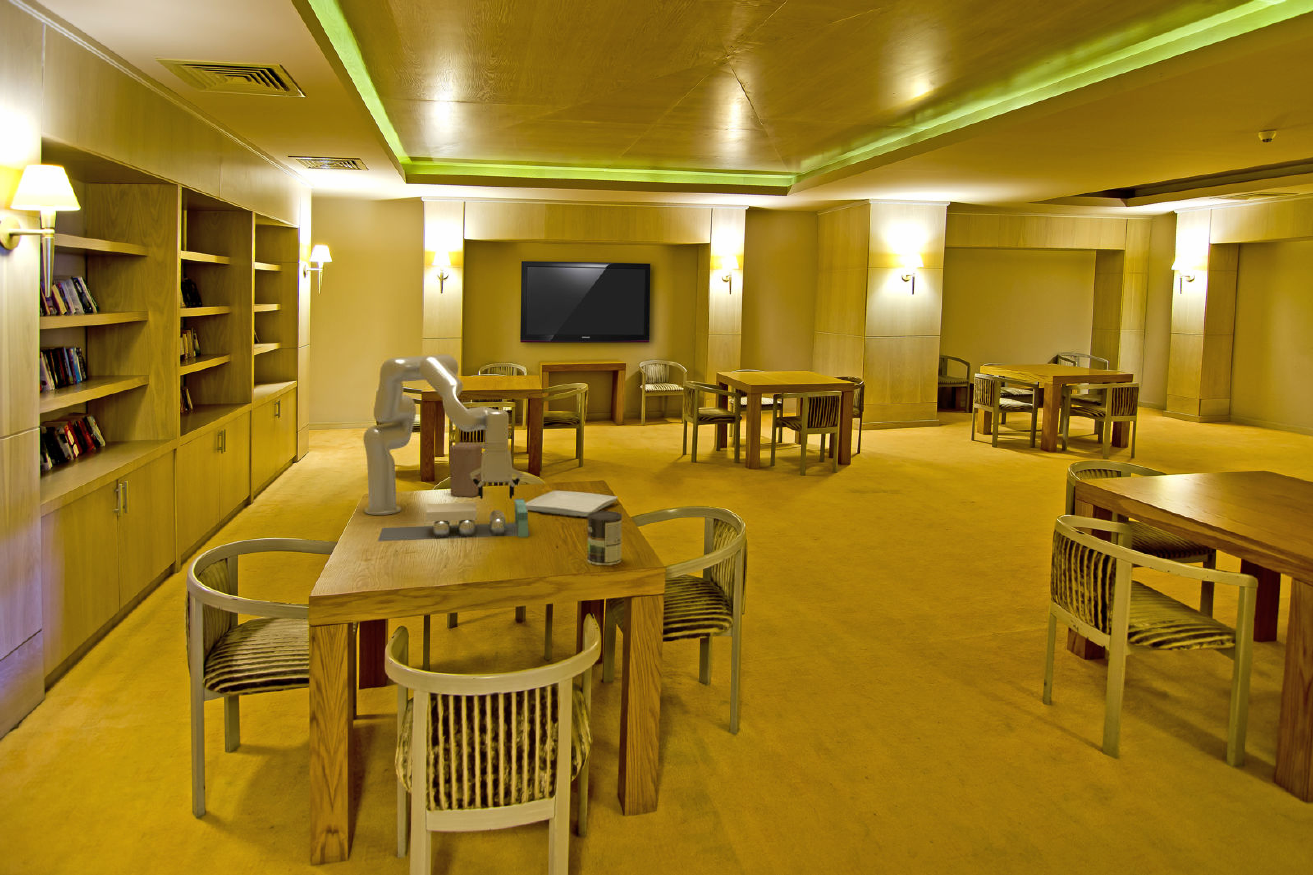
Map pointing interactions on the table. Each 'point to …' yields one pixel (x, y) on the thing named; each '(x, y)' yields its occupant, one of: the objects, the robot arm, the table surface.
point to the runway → (480, 529)
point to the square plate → (570, 503)
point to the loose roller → (498, 523)
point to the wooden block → (464, 468)
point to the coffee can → (604, 538)
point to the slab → (451, 512)
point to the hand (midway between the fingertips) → (496, 497)
